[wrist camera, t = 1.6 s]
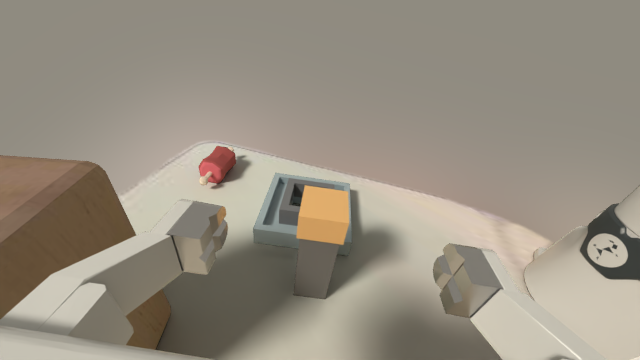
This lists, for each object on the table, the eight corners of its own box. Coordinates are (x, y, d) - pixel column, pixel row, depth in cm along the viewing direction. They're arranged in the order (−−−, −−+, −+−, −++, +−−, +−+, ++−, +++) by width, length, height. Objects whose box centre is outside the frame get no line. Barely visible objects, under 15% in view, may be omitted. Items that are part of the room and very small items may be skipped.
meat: (218, 153, 53) (222, 135, 50) (240, 162, 53) (245, 145, 50) (186, 186, 43) (189, 166, 40) (213, 197, 43) (217, 177, 41)
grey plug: (328, 269, 34) (348, 191, 26) (327, 302, 30) (349, 223, 22) (296, 264, 34) (304, 185, 26) (290, 296, 30) (298, 216, 22)
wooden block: (78, 308, 26) (-77, 143, 14) (176, 308, 27) (107, 156, 16) (-21, 444, 18) (-547, 321, 6) (124, 436, 19) (-99, 321, 8)
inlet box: (346, 195, 47) (351, 177, 45) (347, 255, 36) (354, 235, 33) (275, 185, 47) (275, 166, 45) (254, 242, 36) (252, 221, 33)
